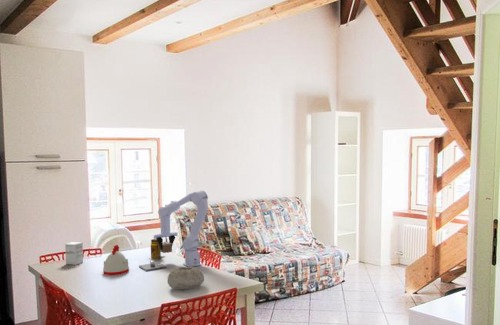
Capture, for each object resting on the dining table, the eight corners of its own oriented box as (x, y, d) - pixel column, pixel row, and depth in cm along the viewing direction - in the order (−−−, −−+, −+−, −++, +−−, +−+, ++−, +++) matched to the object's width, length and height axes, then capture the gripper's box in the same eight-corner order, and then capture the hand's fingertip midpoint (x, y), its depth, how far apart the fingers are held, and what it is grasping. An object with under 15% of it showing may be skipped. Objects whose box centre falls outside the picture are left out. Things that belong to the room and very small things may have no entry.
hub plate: (166, 267, 258) (166, 261, 258) (146, 271, 252) (146, 264, 251) (158, 263, 268) (158, 257, 268) (139, 267, 262) (138, 260, 262)
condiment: (148, 259, 282) (147, 240, 281) (155, 256, 290) (154, 237, 289) (158, 259, 279) (157, 240, 279) (165, 256, 287) (164, 238, 287)
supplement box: (65, 264, 273) (64, 243, 273) (73, 261, 280) (72, 241, 280) (75, 265, 271) (74, 244, 271) (83, 262, 278) (82, 242, 278)
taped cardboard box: (172, 251, 270) (171, 242, 270) (163, 252, 267) (163, 243, 267) (168, 250, 274) (168, 241, 274) (160, 251, 272) (159, 242, 271)
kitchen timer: (132, 268, 259) (131, 243, 258) (123, 275, 245) (122, 248, 245) (109, 268, 260) (108, 243, 260) (99, 275, 246) (98, 248, 246)
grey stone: (187, 280, 231) (187, 261, 230) (212, 286, 219) (211, 266, 219) (160, 289, 217) (159, 269, 217) (185, 296, 206) (184, 274, 205)
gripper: (173, 224, 278) (174, 246, 278) (151, 227, 270) (152, 249, 270) (178, 225, 272) (179, 248, 272) (155, 228, 264) (156, 251, 264)
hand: (166, 248), depth 271 cm, fingers closed on taped cardboard box, 5 cm apart
